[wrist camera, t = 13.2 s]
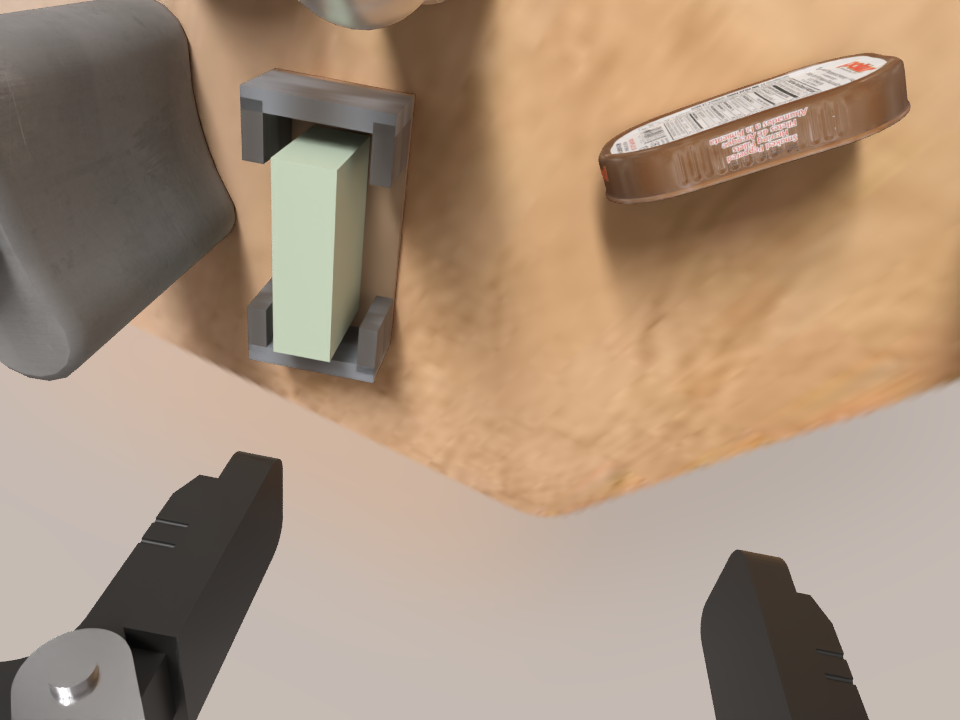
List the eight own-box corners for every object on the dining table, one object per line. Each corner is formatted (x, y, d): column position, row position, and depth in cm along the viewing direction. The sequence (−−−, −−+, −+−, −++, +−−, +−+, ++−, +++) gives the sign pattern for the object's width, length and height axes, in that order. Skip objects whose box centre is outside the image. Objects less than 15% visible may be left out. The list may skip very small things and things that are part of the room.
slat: (370, 135, 41) (336, 170, 35) (358, 308, 48) (329, 362, 42) (313, 125, 41) (270, 157, 35) (309, 299, 48) (273, 351, 42)
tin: (604, 178, 42) (612, 229, 35) (590, 128, 40) (595, 170, 33) (872, 91, 38) (943, 128, 30) (867, 31, 36) (940, 56, 29)
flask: (82, -1, 39) (-281, 50, 23) (175, -10, 39) (-128, 36, 22) (165, 242, 47) (-57, 415, 30) (245, 239, 46) (61, 415, 30)
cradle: (415, 94, 40) (396, 114, 36) (390, 343, 50) (373, 383, 45) (275, 68, 40) (239, 84, 36) (277, 321, 50) (249, 359, 45)
